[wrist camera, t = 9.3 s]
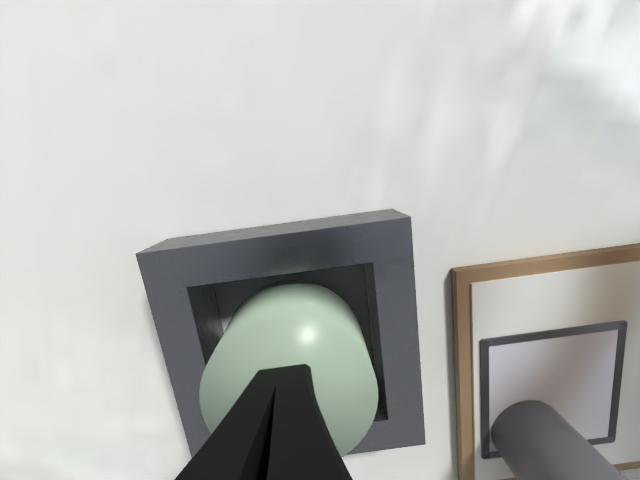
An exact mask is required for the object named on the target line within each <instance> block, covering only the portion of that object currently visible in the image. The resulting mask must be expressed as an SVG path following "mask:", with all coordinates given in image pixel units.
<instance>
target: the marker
mask: <svg viewBox="0 0 640 480" xmlns="http://www.w3.org/2000/svg"><path fill="white" fill-rule="evenodd" d="M491 438H492V442H493V444H494V446H495V448H496V449H497V451H498V452H499V454H500V455H501V457H502V458H503V460H504V461H505V463H506V464H507V466H508V467H509V468H510V470H511V471H512V473H513V474H514V476H515V477H516V479H517V480H627V479H626V478H625V477H624V476H623V475H622V474H621V473H620V472H619V471H618V470H617V469H616V468H615V467H614V466H613V465H612V464H611V463H610V462H609V461H608V460H606V459H605V458H604V457H603V456H602V455H601V454H600V453H599V452H598V451H597V450H596V449H595V448H594V447H593V446H592V445H591V444H590V443H589V442H588V441H587V440H586V439H585V438H584V437H583V436H582V435H581V434H580V433H579V432H577V431H576V430H575V429H574V428H573V427H572V426H571V425H570V424H569V423H568V422H567V421H566V420H565V419H564V418H563V417H562V416H561V415H560V414H559V413H558V412H557V411H556V410H555V409H554V408H553V407H552V406H550V405H549V404H547V403H545V402H542V401H537V400H525V401H521V402H517V403H515V404H513V405H511V406H509V407H507V408H506V409H505V410H503V411H502V412H501V413H500V414H499V415H498V417H497V418H496V420H495V422H494V424H493V426H492V431H491Z"/></svg>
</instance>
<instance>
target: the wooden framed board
mask: <svg viewBox="0 0 640 480" xmlns="http://www.w3.org/2000/svg"><path fill="white" fill-rule="evenodd" d="M451 274H452V302H453V330H454V358H455V386H456V414H457V442H458V470H459V480H517V479H516V477H515V476H514V474H513V473H512V471H511V470H510V468H509V467H508V466H507V464H506V463H505V461H504V460H503V458H502V457H501V455H500V454H499V452H498V451H497V449H496V448H495V446H494V444H493V442H492V438H491V431H492V426H493V424H494V422H495V420H496V418H497V417H498V415H499V414H500V413H501V412H502V411H503V410H505V409H506V408H507V407H509V406H511V405H513V404H515V403H517V402H521V401H525V400H537V401H542V402H545V403H547V404H549V405H550V406H552V407H553V408H554V409H555V410H556V411H557V412H558V413H559V414H560V415H561V416H562V417H563V418H564V419H565V420H566V421H567V422H568V423H569V424H570V425H571V426H572V427H573V428H574V429H575V430H576V431H577V432H579V433H580V434H581V435H582V436H583V437H584V438H585V439H586V440H587V441H588V442H589V443H590V444H591V445H592V446H593V447H594V448H595V449H596V450H597V451H598V452H599V453H600V454H601V455H602V456H603V457H604V458H605V459H606V460H608V461H609V462H610V463H611V464H612V465H613V466H614V467H615V468H616V469H617V470H626V469H634V468H640V243H638V244H630V245H623V246H615V247H608V248H600V249H593V250H585V251H578V252H571V253H563V254H556V255H548V256H541V257H533V258H526V259H518V260H511V261H503V262H496V263H488V264H481V265H473V266H466V267H458V268H451Z"/></svg>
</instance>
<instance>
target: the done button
mask: <svg viewBox="0 0 640 480" xmlns="http://www.w3.org/2000/svg"><path fill="white" fill-rule="evenodd" d="M299 364H307V365H308V366H310V367H311V373H312V379H313V386H314V392H315V396H316V399H317V402H318V405H319V408H320V411H321V413H322V416H323V418H324V421H325V423H326V426H327V428H328V430H329V433H330V435H331V437H332V439H333V442H334V444H335V446H336V448H337V450H338V452H339V454H340V456H341V457H343V456H344V455H346V454H347V453H349V452H350V451H351V450H352V449H353V448H354V447H355V446H357V445H358V444H359V442H360V441H361V440H362V439H363V438H364V436H365V435H366V433H367V432H368V430H369V429H370V427H371V425H372V422H373V420H374V418H375V414H376V410H377V405H378V386H377V380H376V376H375V373H374V370H373V367H372V363H371V360H370V357H369V354H368V351H367V348H366V344H365V341H364V338H363V335H362V332H361V328H360V325H359V322H358V320H357V318H356V316H355V314H354V312H353V311H352V309H351V308H350V306H349V305H348V304H347V303H346V302H345V301H344V300H343V299H342V298H341V297H340V296H339V295H337V294H336V293H334V292H333V291H331V290H329V289H327V288H325V287H323V286H321V285H318V284H314V283H311V282H305V281H284V282H279V283H274V284H271V285H268V286H266V287H264V288H262V289H260V290H258V291H256V292H255V293H253V294H252V295H250V296H249V297H248V298H247V299H246V300H245V301H244V302H243V303H242V304H241V305H240V306H239V308H238V309H237V311H236V312H235V314H234V315H233V317H232V319H231V321H230V323H229V325H228V326H227V328H226V330H225V332H224V334H223V336H222V337H221V339H220V341H219V343H218V345H217V347H216V348H215V350H214V352H213V354H212V356H211V358H210V359H209V361H208V363H207V365H206V368H205V370H204V372H203V375H202V379H201V383H200V391H199V399H200V407H201V412H202V415H203V418H204V421H205V423H206V425H207V427H208V429H209V431H210V433H211V434H212V433H213V432H214V430H215V429H216V428H217V426H218V425H219V424H220V422H221V421H222V420H223V418H224V417H225V416H226V414H227V413H228V412H229V410H230V409H231V408H232V406H233V405H234V403H235V402H236V401H237V399H238V398H239V397H240V395H241V394H242V392H243V391H244V389H245V388H246V387H247V385H248V384H249V382H250V381H251V380H252V378H253V377H254V376H255V374H256V373H257V372H258V371H259V370H262V369H270V368H277V367H285V366H292V365H299Z"/></svg>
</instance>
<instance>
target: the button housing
mask: <svg viewBox="0 0 640 480" xmlns="http://www.w3.org/2000/svg"><path fill="white" fill-rule="evenodd" d="M136 257H137V261H138V264H139V268H140V272H141V275H142V279H143V282H144V286H145V290H146V293H147V297H148V300H149V304H150V308H151V311H152V315H153V319H154V322H155V326H156V329H157V333H158V337H159V340H160V344H161V348H162V351H163V355H164V358H165V362H166V366H167V369H168V373H169V376H170V380H171V384H172V387H173V391H174V395H175V398H176V402H177V405H178V409H179V413H180V416H181V420H182V424H183V427H184V431H185V434H186V438H187V442H188V445H189V449H190V452H191V456H192V458H193V457H194V456H195V454H196V453H197V452H198V451H199V449H200V448H201V447H202V446H203V445H204V443H205V442H206V441H207V439H208V438H209V437H210V436H211V433H210V431H209V429H208V427H207V425H206V423H205V421H204V418H203V415H202V412H201V407H200V399H199V391H200V383H201V379H202V375H203V372H204V370H205V368H206V365H207V363H208V361H209V359H210V358H211V356H212V354H213V352H214V350H215V348H216V347H217V345H218V343H219V341H220V339H221V337H222V336H223V334H224V333H223V329H222V324H221V320H220V315H219V311H218V306H217V302H216V297H215V293H214V288H213V283H221V282H228V281H236V280H243V279H251V278H258V277H266V276H273V275H281V274H288V273H296V272H303V271H311V270H318V269H326V268H333V267H341V266H348V265H356V264H363V263H364V268H365V278H366V288H367V298H368V307H369V317H370V327H371V337H372V346H373V356H374V366H375V376H376V380H377V386H378V405H377V410H376V414H375V418H374V420H373V422H372V425H371V427H370V429H369V430H368V432H367V433H366V435H365V436H364V438H363V439H362V440H361V441H360V442H359V444H358V445H357V446H355V447H354V448H353V449H352V450H351V451H350V452H349V453H347V454H346V455H348V454H356V453H363V452H371V451H378V450H386V449H393V448H401V447H409V446H416V445H424V444H425V430H424V414H423V399H422V383H421V368H420V352H419V337H418V321H417V306H416V290H415V275H414V259H413V243H412V228H411V217H410V216H407V215H405V214H403V213H401V212H399V211H396V210H394V209H387V210H380V211H372V212H365V213H357V214H350V215H343V216H335V217H328V218H320V219H313V220H305V221H298V222H290V223H283V224H275V225H268V226H260V227H253V228H245V229H238V230H230V231H223V232H216V233H208V234H201V235H193V236H186V237H178V238H171V239H166V240H164V241H162V242H160V243H158V244H156V245H154V246H151V247H149V248H147V249H145V250H143V251H141V252H138V253H136Z"/></svg>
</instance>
